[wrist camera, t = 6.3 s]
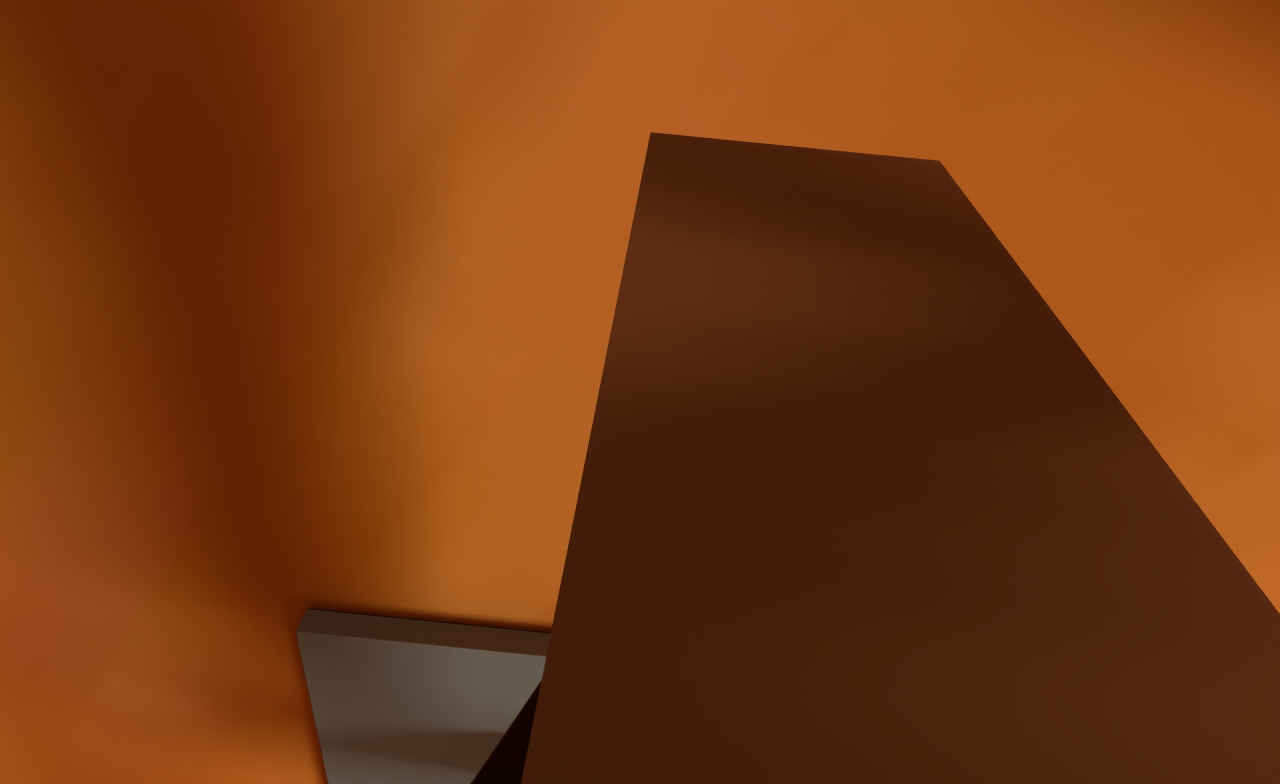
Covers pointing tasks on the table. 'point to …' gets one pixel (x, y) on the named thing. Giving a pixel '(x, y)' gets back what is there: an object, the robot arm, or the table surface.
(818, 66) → the table surface
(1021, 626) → the brown upright panel
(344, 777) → the grey square plate
